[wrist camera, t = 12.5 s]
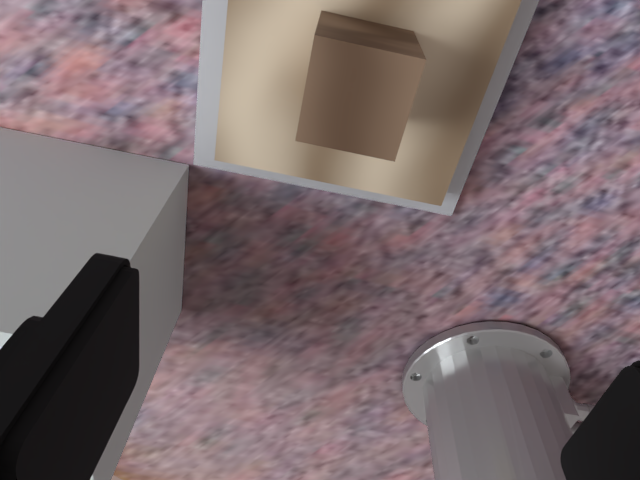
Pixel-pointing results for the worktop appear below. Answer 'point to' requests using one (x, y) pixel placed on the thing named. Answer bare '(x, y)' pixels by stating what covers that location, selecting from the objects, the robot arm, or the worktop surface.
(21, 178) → the box
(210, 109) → the mat
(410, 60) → the lid
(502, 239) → the worktop surface
